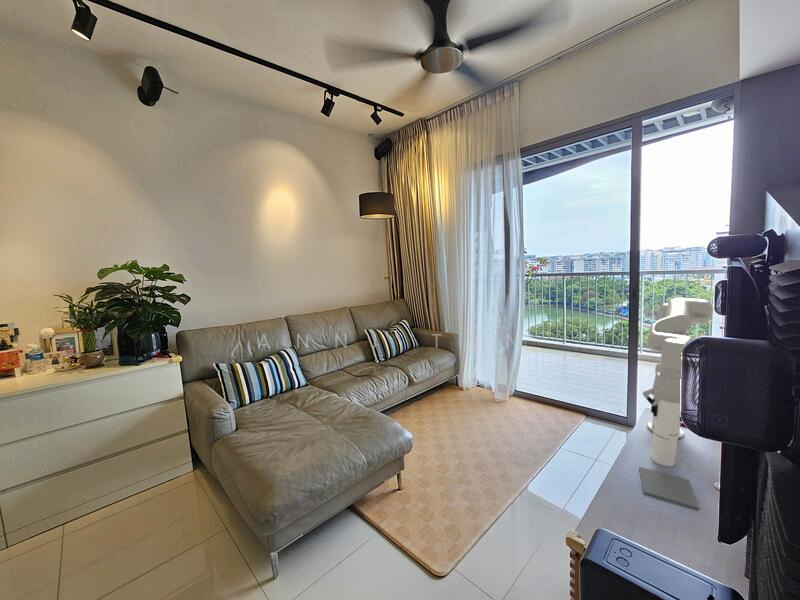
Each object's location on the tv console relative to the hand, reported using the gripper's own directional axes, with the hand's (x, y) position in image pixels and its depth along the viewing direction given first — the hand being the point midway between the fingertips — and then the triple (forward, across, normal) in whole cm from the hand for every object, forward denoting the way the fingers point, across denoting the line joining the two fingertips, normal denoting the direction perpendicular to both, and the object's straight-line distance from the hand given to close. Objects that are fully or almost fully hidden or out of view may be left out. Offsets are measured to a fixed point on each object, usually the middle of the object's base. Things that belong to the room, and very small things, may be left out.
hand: (667, 417), depth 122 cm
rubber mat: (+18, +1, +17) cm, 25 cm away
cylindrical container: (+18, 0, 0) cm, 18 cm away
